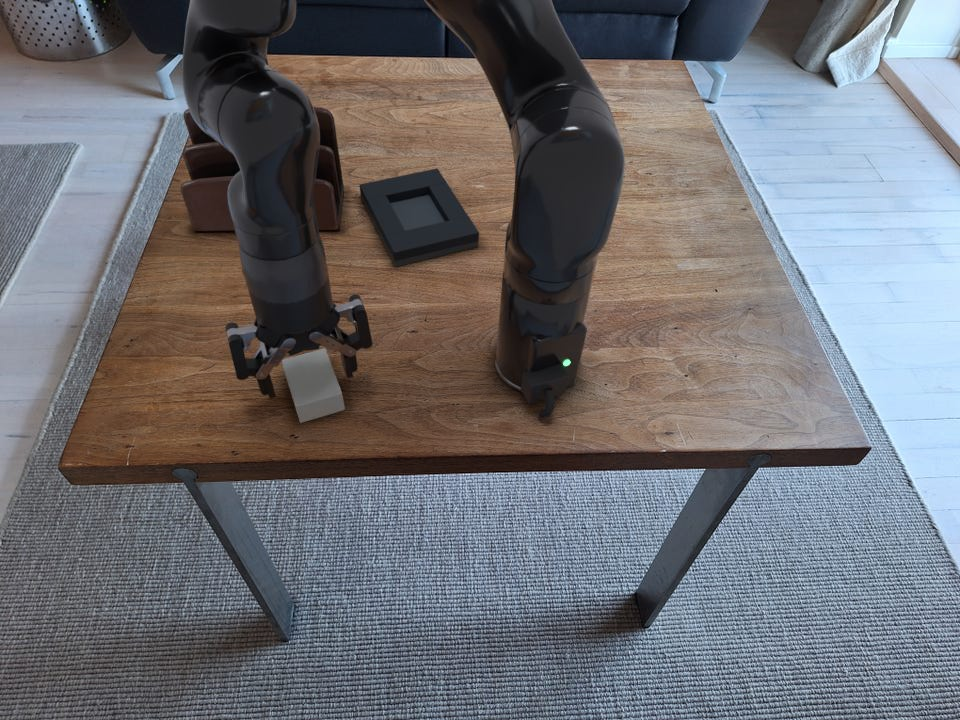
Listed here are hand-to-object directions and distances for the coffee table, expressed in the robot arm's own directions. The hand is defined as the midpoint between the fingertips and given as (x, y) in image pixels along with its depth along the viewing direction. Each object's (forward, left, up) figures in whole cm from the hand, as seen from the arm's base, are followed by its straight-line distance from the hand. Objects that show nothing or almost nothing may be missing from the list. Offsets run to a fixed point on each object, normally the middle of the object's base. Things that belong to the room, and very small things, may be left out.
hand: (310, 382), depth 77 cm
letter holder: (+34, -3, -2) cm, 34 cm away
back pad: (+24, -21, -2) cm, 32 cm away
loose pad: (-1, 0, -2) cm, 2 cm away
